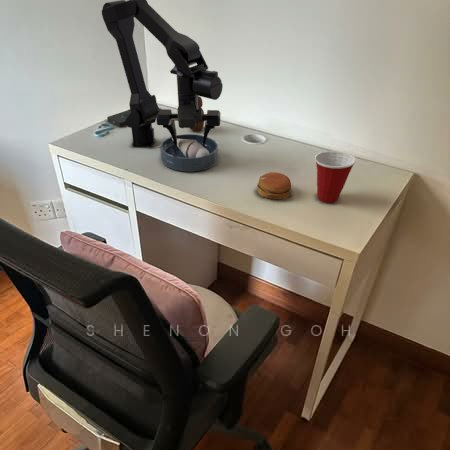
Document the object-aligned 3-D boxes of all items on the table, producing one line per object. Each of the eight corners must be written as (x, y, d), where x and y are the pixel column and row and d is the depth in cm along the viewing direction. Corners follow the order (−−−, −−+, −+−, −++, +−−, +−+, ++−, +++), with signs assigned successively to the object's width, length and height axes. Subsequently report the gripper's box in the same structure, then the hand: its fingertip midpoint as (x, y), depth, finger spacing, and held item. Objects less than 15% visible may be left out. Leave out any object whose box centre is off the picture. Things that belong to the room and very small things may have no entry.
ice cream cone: (171, 150, 136) (207, 170, 132) (162, 143, 131) (199, 165, 126) (180, 132, 135) (216, 152, 131) (171, 125, 129) (209, 146, 125)
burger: (295, 198, 117) (298, 182, 114) (265, 203, 115) (266, 187, 112) (281, 181, 124) (282, 167, 121) (252, 186, 122) (253, 171, 119)
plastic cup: (319, 184, 124) (327, 144, 115) (352, 197, 119) (363, 156, 110) (300, 198, 117) (307, 157, 109) (334, 212, 113) (344, 170, 104)
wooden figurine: (203, 133, 148) (203, 88, 138) (187, 133, 148) (186, 87, 138) (204, 126, 153) (204, 82, 143) (189, 125, 153) (187, 81, 142)
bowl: (157, 171, 127) (156, 157, 123) (165, 146, 139) (164, 133, 136) (216, 173, 127) (216, 159, 124) (218, 148, 140) (218, 135, 136)
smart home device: (106, 116, 153) (148, 103, 164) (106, 121, 154) (148, 107, 165) (120, 122, 149) (162, 108, 160) (120, 127, 150) (162, 113, 161)
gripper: (151, 101, 113) (156, 156, 124) (219, 102, 113) (219, 157, 124) (156, 88, 122) (161, 141, 132) (220, 89, 121) (220, 142, 132)
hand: (190, 145), depth 130 cm, fingers open, 8 cm apart
